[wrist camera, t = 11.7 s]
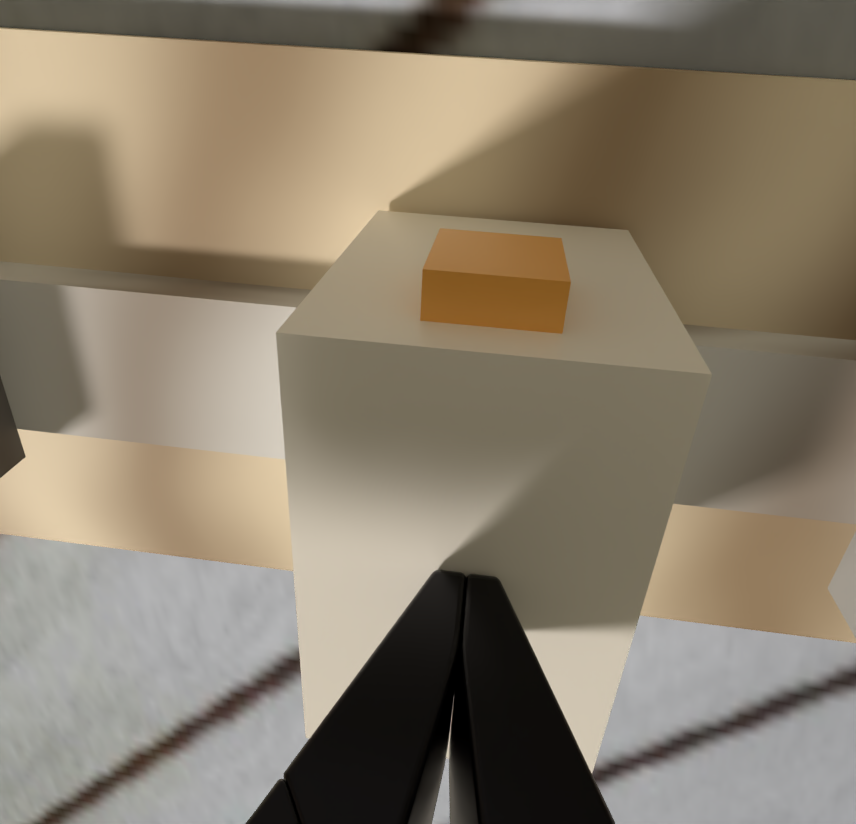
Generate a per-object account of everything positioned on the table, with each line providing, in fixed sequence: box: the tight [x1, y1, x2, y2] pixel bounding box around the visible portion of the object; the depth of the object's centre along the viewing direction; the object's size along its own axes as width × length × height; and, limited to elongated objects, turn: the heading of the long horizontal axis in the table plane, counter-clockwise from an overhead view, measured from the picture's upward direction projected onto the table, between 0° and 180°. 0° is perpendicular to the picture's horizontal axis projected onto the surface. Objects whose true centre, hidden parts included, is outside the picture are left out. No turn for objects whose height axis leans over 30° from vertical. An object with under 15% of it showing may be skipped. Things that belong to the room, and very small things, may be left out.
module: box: [276, 210, 712, 773], centre depth 11 cm, size 4×8×6 cm, turn 177°
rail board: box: [0, 27, 856, 643], centre depth 11 cm, size 28×12×7 cm, turn 87°
